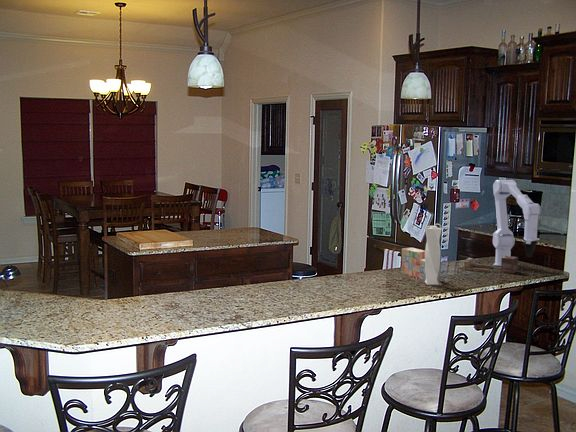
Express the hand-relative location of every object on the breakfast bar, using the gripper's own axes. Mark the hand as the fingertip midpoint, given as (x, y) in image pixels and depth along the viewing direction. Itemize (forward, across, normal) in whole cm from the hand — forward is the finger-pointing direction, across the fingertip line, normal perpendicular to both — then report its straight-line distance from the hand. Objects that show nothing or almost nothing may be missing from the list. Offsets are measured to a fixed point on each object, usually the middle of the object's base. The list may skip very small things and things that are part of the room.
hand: (529, 256), depth 312 cm
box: (+9, 0, +9) cm, 13 cm away
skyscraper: (+9, -44, +35) cm, 57 cm away
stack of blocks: (+9, -32, +45) cm, 56 cm away
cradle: (+8, 0, +23) cm, 24 cm away
